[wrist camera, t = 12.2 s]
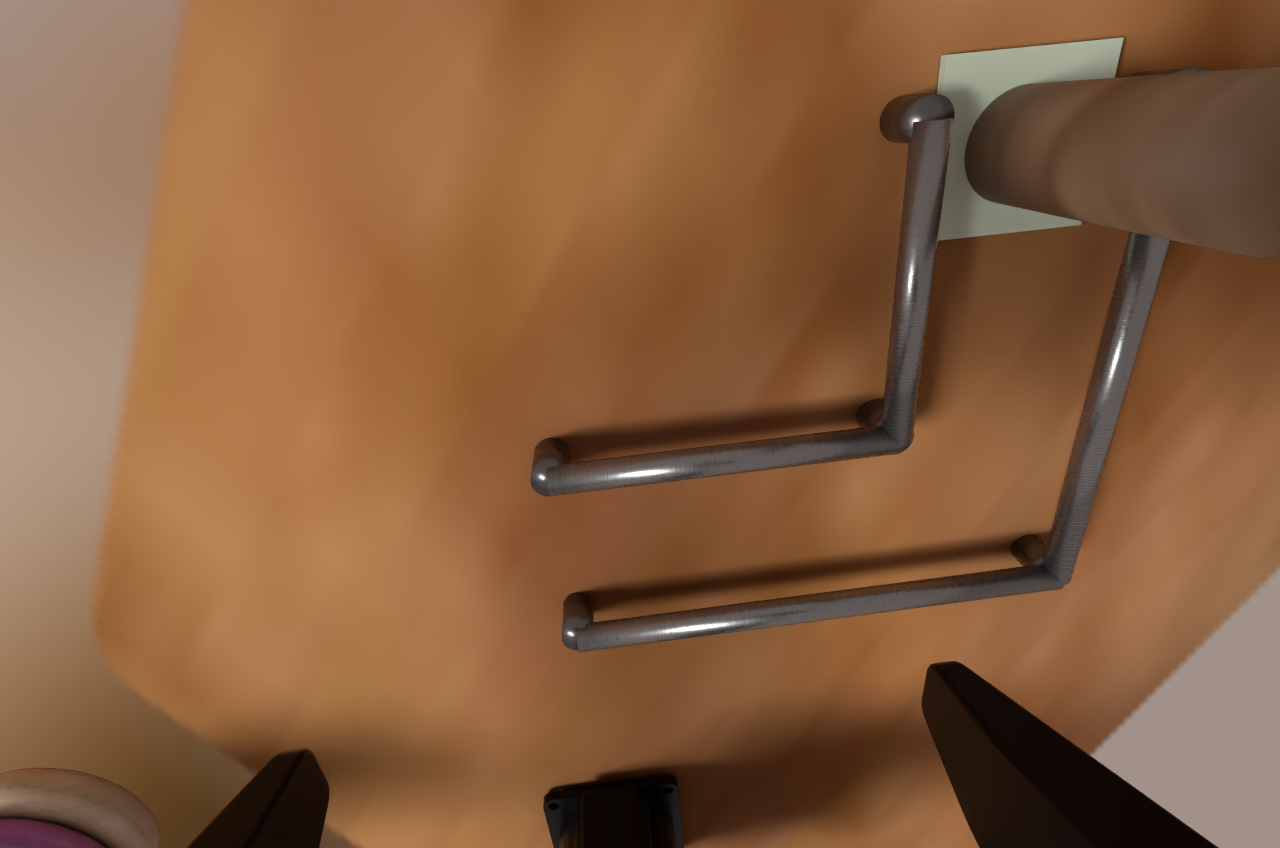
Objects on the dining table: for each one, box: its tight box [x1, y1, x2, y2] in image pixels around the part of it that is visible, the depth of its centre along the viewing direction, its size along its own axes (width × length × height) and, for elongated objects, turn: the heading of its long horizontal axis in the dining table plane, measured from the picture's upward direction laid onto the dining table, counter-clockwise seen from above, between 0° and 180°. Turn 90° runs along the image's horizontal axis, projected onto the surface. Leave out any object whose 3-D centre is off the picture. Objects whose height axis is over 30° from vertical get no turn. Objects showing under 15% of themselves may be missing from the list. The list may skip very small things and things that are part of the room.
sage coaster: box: [937, 37, 1124, 241], centre depth 18 cm, size 5×5×1 cm
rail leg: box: [530, 400, 1064, 653], centre depth 23 cm, size 8×20×2 cm, turn 95°
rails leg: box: [880, 68, 1207, 585], centre depth 20 cm, size 17×8×2 cm, turn 5°
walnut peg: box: [964, 66, 1280, 258], centre depth 14 cm, size 3×3×8 cm
